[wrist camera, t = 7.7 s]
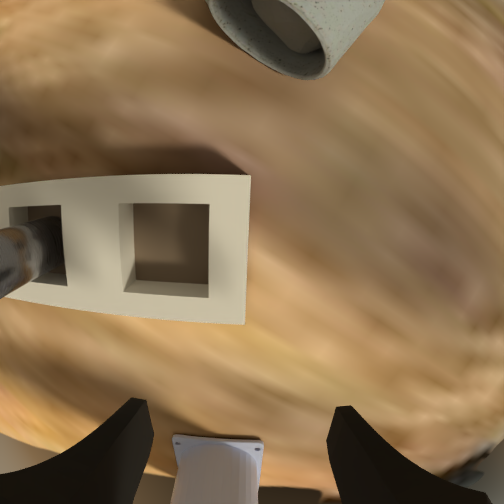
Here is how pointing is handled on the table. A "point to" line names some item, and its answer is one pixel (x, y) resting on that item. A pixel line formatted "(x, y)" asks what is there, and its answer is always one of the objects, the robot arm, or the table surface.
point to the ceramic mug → (295, 31)
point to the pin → (29, 252)
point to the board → (142, 244)
